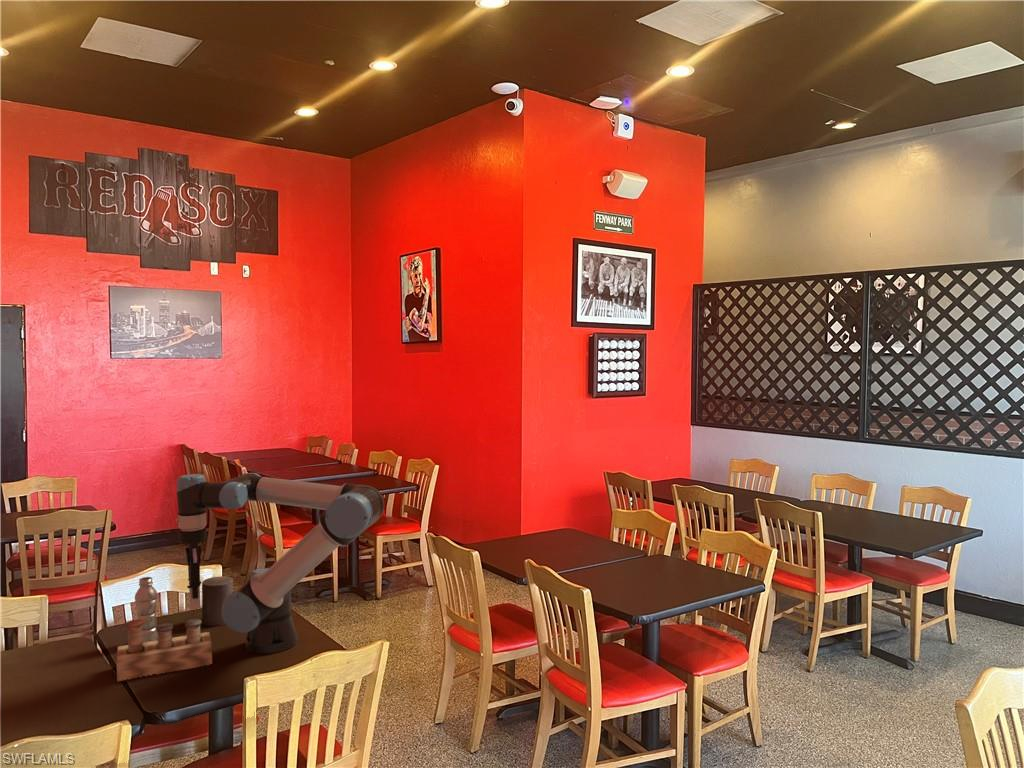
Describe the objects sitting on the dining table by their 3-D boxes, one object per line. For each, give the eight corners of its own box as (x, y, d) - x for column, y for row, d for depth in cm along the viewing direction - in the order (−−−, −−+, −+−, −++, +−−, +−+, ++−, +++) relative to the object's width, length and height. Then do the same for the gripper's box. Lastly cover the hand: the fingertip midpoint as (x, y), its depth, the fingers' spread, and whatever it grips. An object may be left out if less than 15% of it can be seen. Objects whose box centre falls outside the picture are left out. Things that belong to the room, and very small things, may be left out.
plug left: (205, 656, 213) (204, 619, 212) (195, 662, 208) (194, 625, 208) (192, 654, 214) (191, 618, 213) (182, 660, 209) (181, 624, 209)
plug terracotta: (148, 657, 206) (147, 619, 205) (136, 663, 201) (135, 625, 201) (134, 655, 207) (133, 618, 206) (123, 662, 202) (122, 624, 202)
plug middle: (177, 661, 209) (176, 624, 209) (166, 667, 205) (165, 629, 204) (164, 659, 210) (163, 622, 210) (153, 665, 206) (152, 628, 205)
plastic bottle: (134, 648, 220) (133, 583, 219) (136, 640, 226) (134, 577, 225) (158, 645, 222) (156, 580, 221) (159, 637, 229) (157, 574, 228)
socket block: (209, 651, 217) (209, 631, 217) (212, 664, 209) (211, 643, 208) (118, 667, 207) (117, 646, 206) (117, 681, 198) (116, 659, 197)
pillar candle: (197, 626, 237) (196, 581, 237) (209, 615, 247) (208, 572, 246) (226, 626, 237) (226, 581, 237) (237, 615, 247) (237, 572, 246)
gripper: (176, 525, 215) (179, 603, 215) (179, 534, 203) (182, 617, 204) (204, 522, 218) (206, 599, 219) (208, 531, 207) (211, 612, 208)
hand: (195, 608), depth 212 cm, fingers closed
